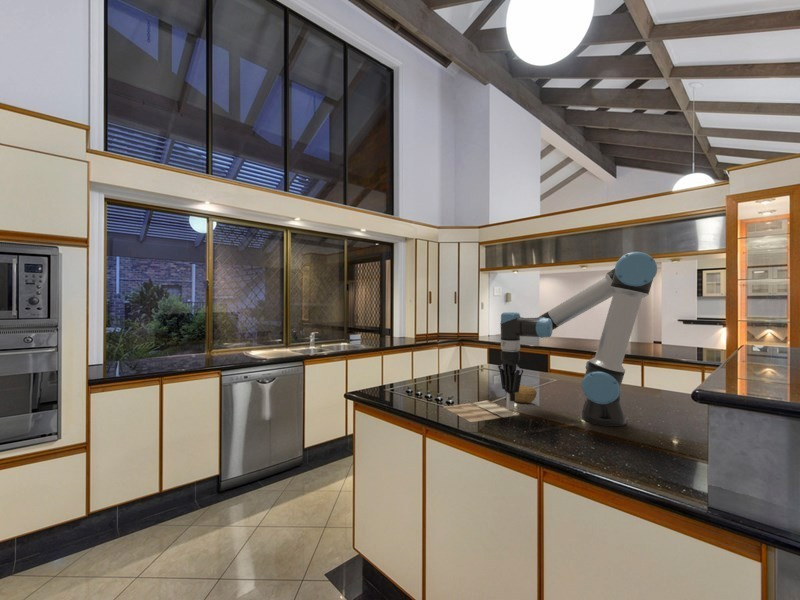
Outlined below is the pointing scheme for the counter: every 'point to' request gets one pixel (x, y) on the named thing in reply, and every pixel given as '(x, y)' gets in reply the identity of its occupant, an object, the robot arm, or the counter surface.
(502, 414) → the board
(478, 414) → the laid boards
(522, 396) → the potato
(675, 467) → the counter surface
